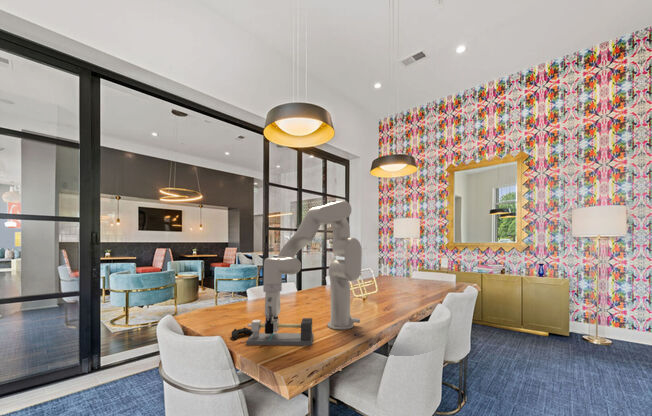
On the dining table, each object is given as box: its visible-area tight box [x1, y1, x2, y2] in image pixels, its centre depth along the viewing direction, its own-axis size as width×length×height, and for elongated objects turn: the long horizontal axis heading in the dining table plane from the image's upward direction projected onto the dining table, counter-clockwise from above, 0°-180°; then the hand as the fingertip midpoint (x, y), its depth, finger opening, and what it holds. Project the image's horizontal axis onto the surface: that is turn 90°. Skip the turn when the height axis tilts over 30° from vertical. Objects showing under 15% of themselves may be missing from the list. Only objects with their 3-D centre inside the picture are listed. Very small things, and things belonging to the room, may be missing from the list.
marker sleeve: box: [273, 318, 280, 333], centre depth 119 cm, size 5×4×4 cm
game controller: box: [231, 326, 253, 341], centre depth 124 cm, size 10×5×6 cm
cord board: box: [245, 317, 314, 346], centre depth 119 cm, size 27×10×8 cm, turn 89°
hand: (271, 329), depth 119 cm, fingers open, 9 cm apart
